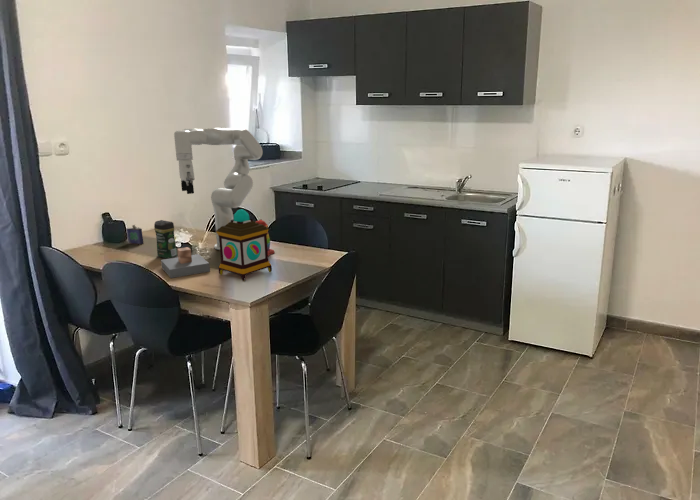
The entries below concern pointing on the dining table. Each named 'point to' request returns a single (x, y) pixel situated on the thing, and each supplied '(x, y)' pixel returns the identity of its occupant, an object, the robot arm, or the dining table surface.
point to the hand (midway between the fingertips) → (187, 192)
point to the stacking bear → (267, 237)
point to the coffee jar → (165, 239)
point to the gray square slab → (185, 266)
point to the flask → (134, 235)
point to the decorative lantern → (243, 246)
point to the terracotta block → (184, 255)
